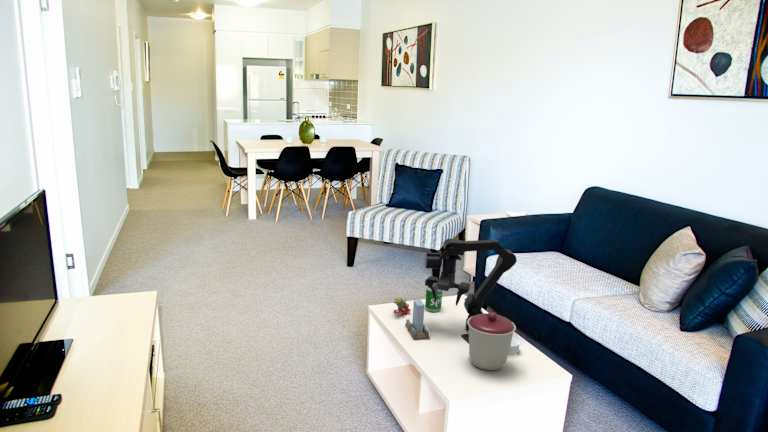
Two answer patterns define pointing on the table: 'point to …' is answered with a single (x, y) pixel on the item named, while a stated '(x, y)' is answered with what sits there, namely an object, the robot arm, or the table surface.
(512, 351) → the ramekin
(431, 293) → the soda can
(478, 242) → the robot arm
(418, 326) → the door panel
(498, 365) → the canister
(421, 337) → the floor track
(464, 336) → the phone
